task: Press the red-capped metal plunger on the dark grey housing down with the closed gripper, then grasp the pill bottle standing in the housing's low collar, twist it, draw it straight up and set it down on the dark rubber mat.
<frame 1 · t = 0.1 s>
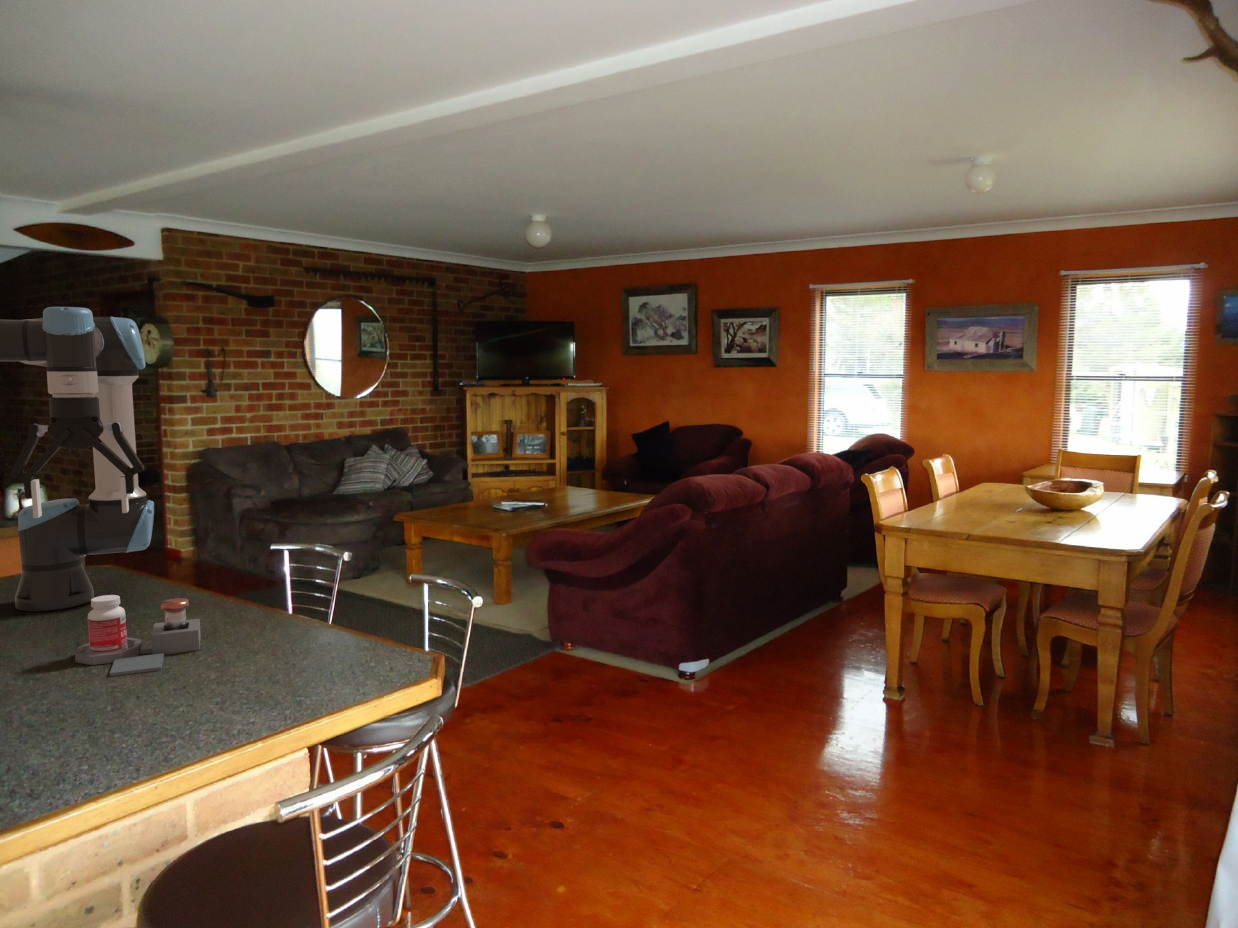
hand: (82, 514, 155), 28 cm above the counter, fingers open, 13 cm apart
pill bottle: (109, 655, 164), resting in housing
mat: (137, 665, 158), on the counter
housing: (142, 650, 166), on the counter
plunger: (175, 616, 168), point 6 cm above the counter, slide at 0.0 cm
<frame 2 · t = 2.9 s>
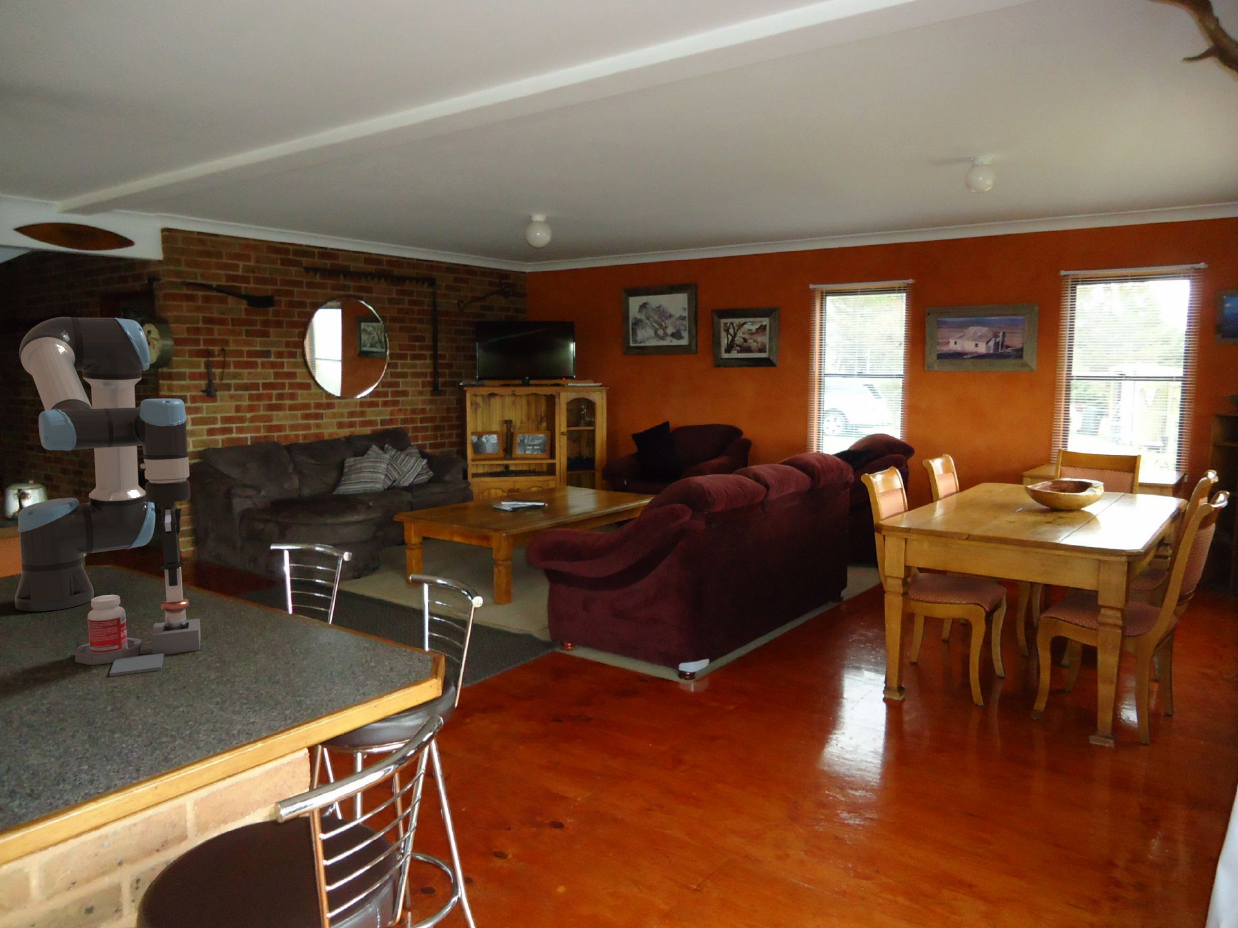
hand: (174, 600, 167), 9 cm above the counter, fingers closed
plunger: (175, 616, 168), point 6 cm above the counter, slide at 0.0 cm, touching gripper
everything else where it was.
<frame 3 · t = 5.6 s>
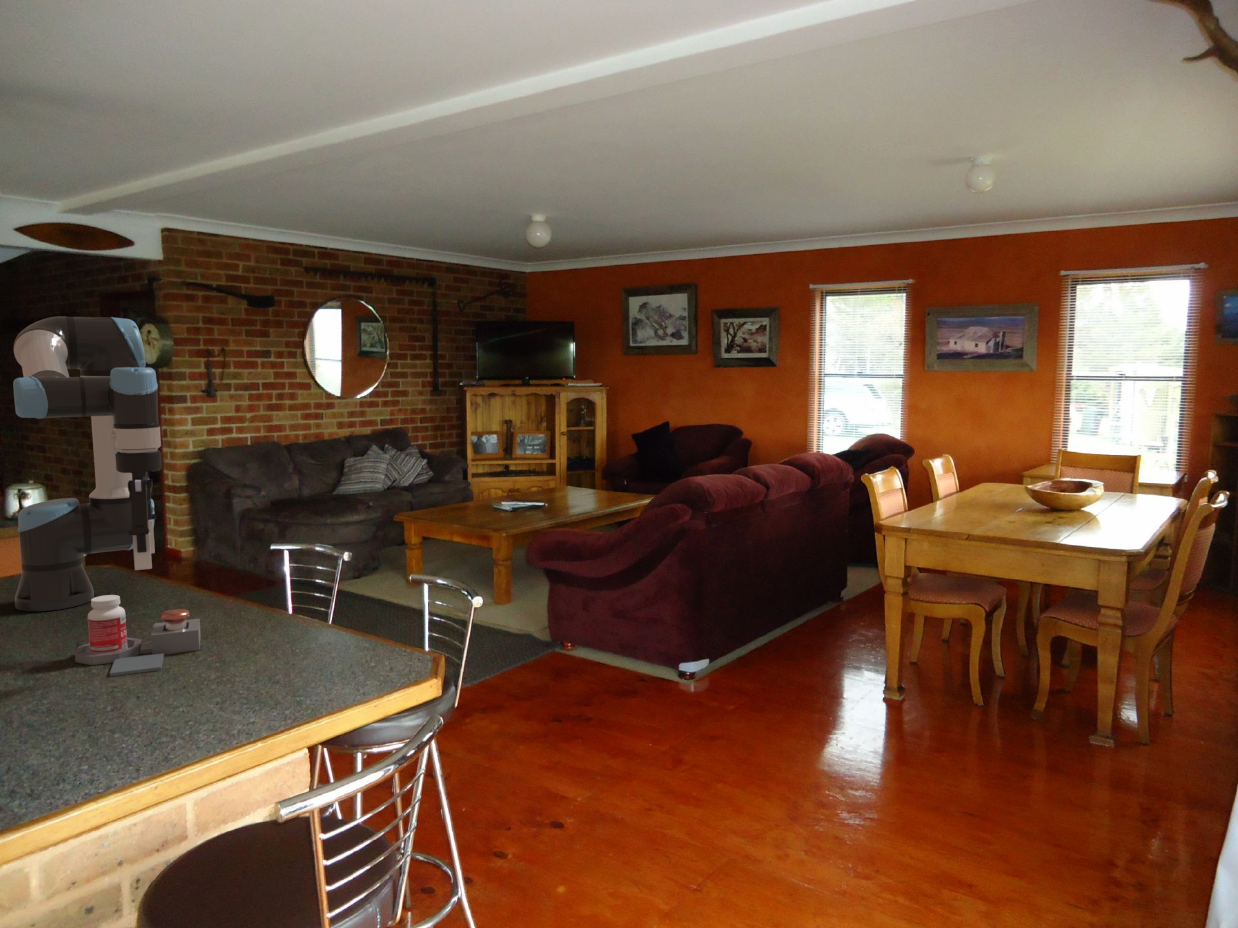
hand: (145, 561, 165), 17 cm above the counter, fingers open, 13 cm apart
plunger: (176, 627, 168), point 4 cm above the counter, slide at 2.2 cm
everything else where it was.
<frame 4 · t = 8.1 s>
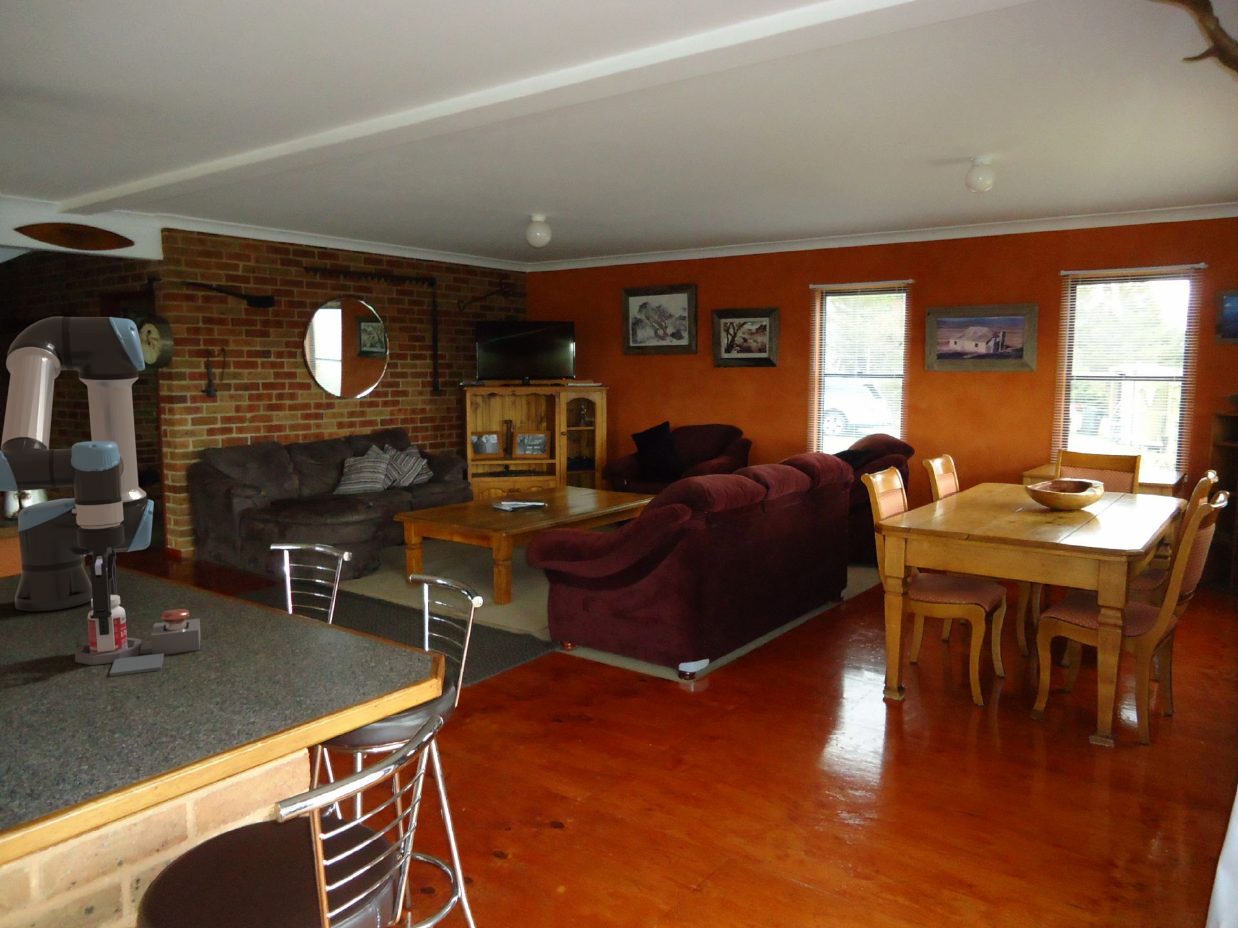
hand: (108, 644, 164), 2 cm above the counter, fingers closed on pill bottle, 6 cm apart
pill bottle: (109, 655, 164), resting in housing, touching gripper
everything else where it was.
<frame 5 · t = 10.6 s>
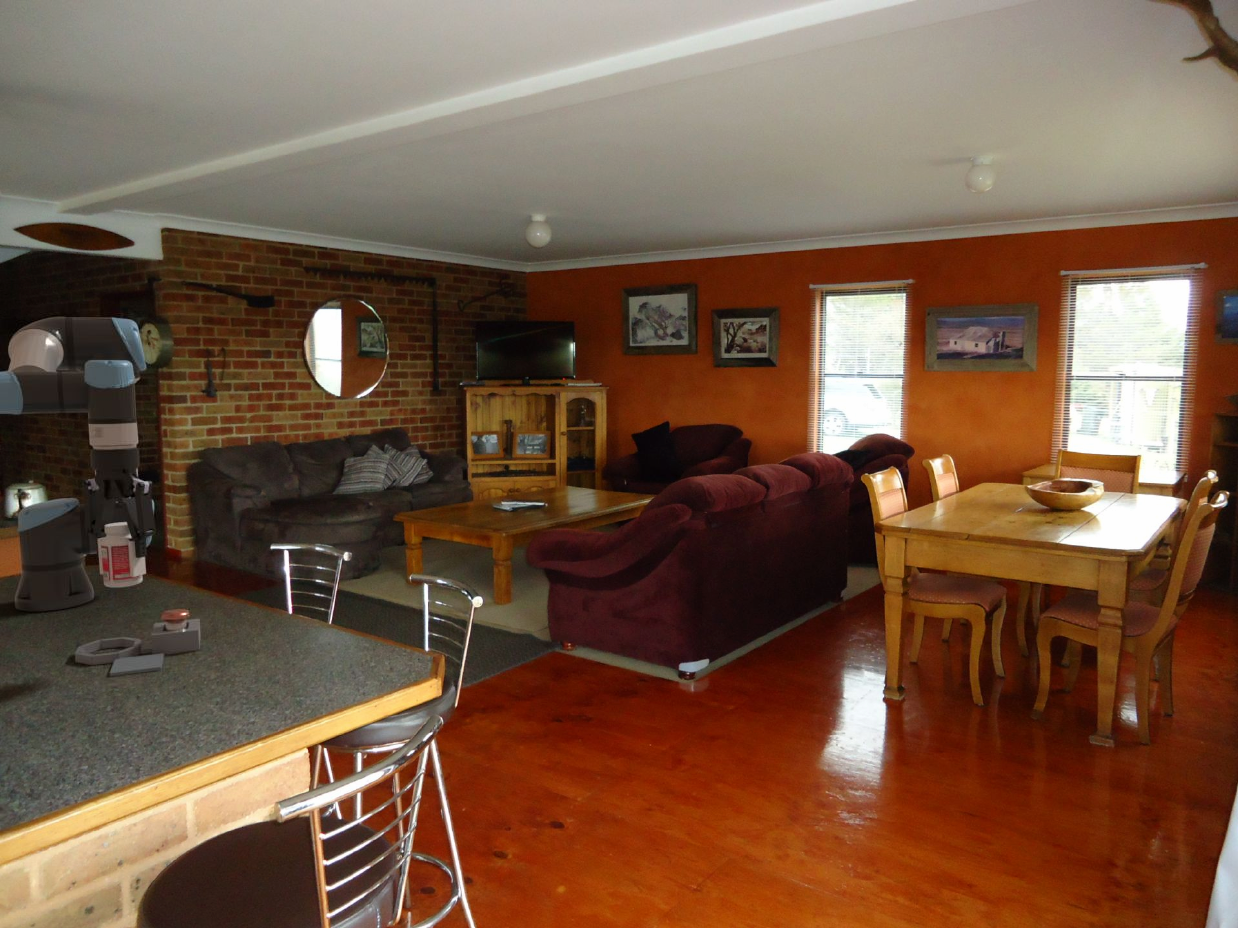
hand: (123, 573, 157), 17 cm above the counter, fingers closed on pill bottle, 6 cm apart
pill bottle: (123, 585, 157), point 15 cm above the counter, touching gripper
everything else where it was.
when the fingers open (4 cm above the counter, at t = 13.3 s): pill bottle drops 1 cm, resting on mat.
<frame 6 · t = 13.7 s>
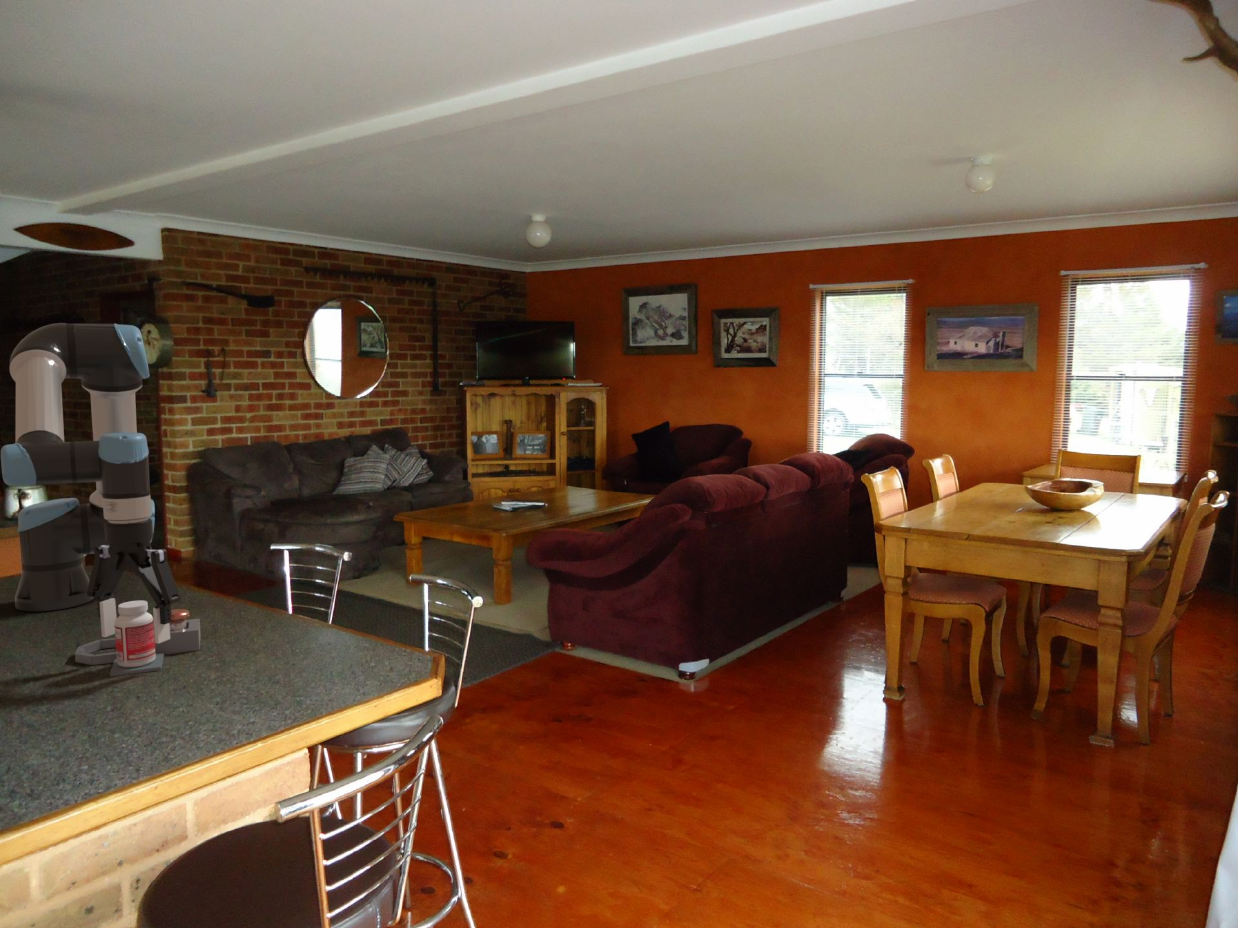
hand: (136, 637, 157), 5 cm above the counter, fingers open, 11 cm apart
pill bottle: (136, 663, 158), resting on mat
everything else where it was.
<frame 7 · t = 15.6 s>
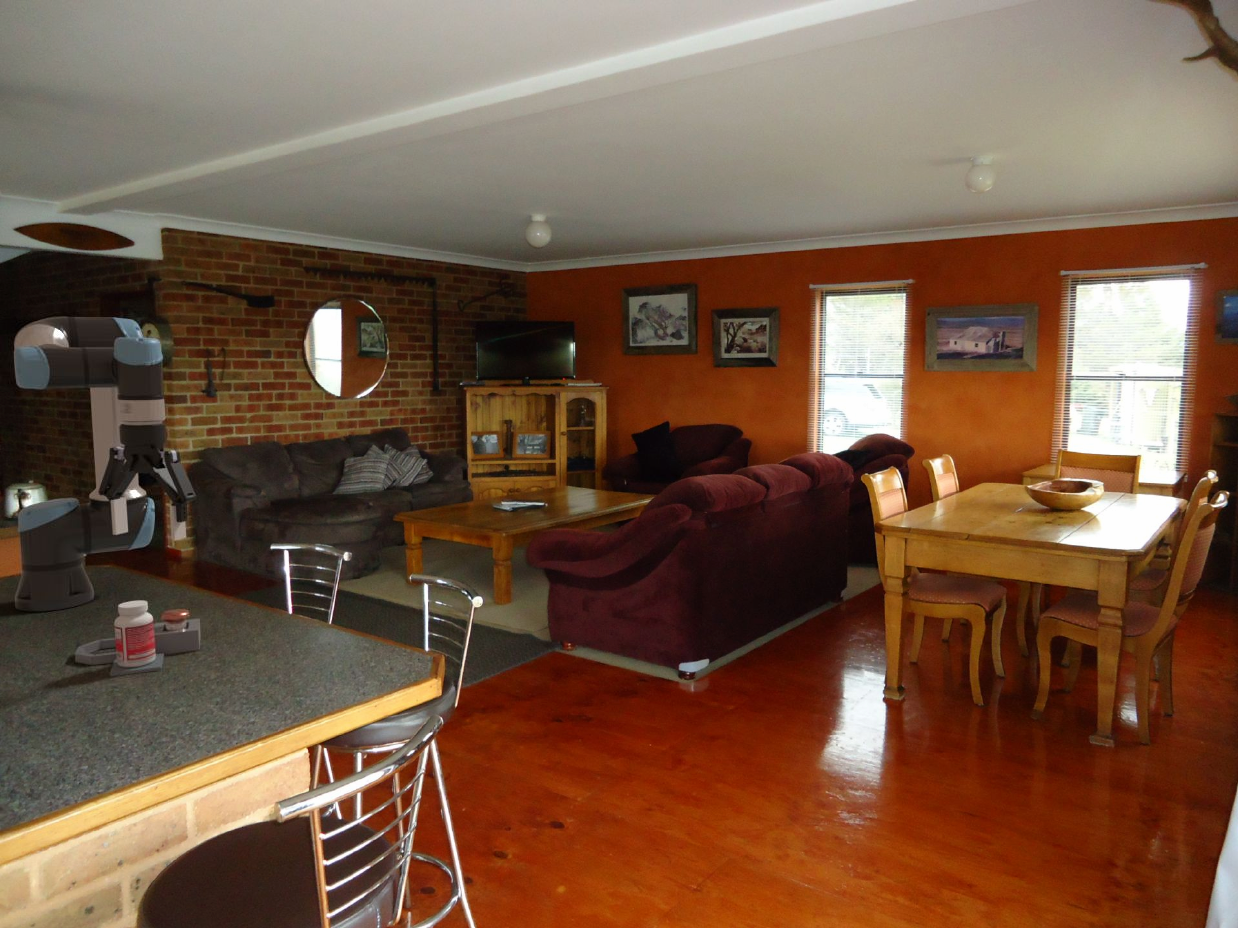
hand: (149, 536, 161), 23 cm above the counter, fingers open, 13 cm apart
nothing on the counter moved.
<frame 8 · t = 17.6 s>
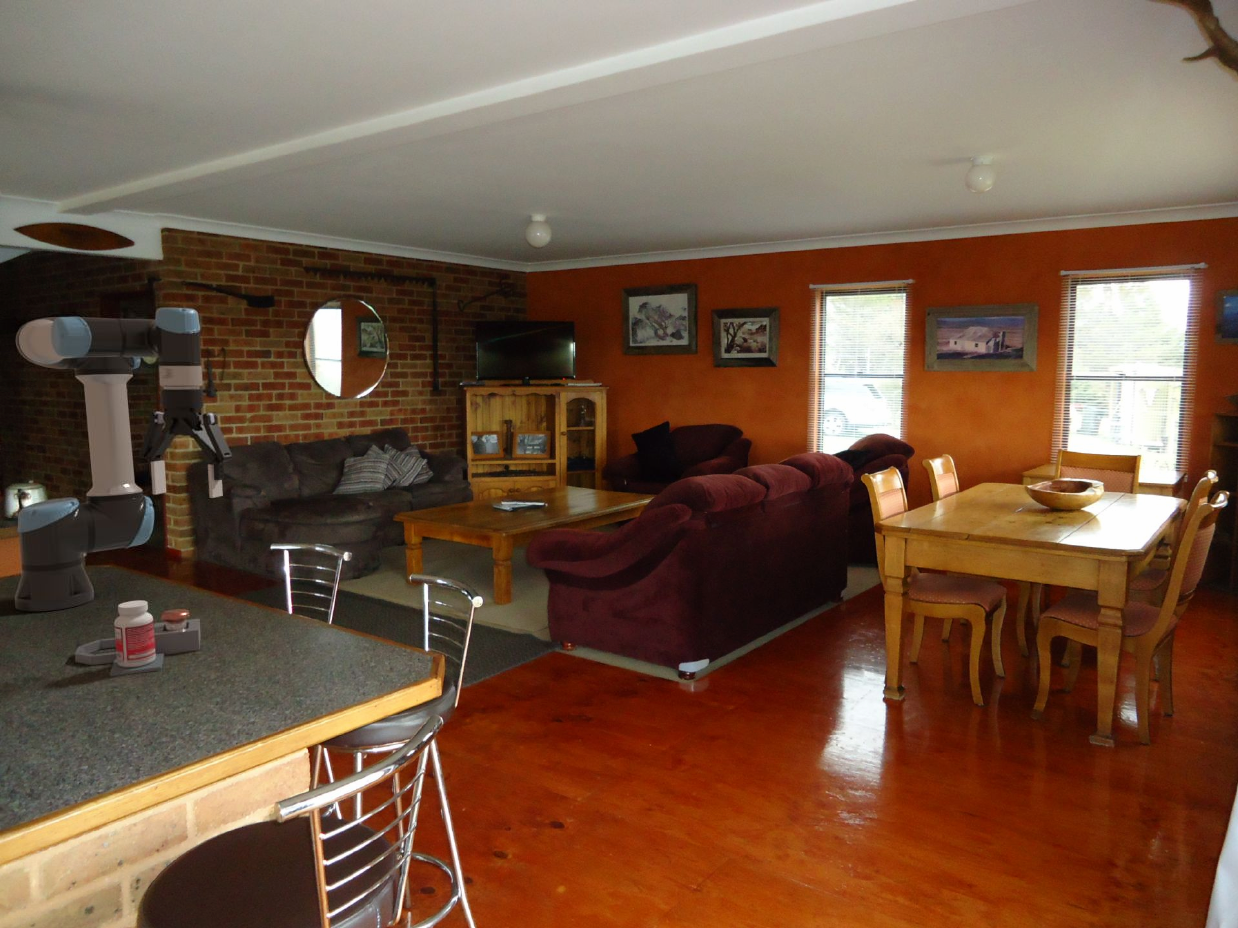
hand: (187, 495, 172), 29 cm above the counter, fingers open, 13 cm apart
nothing on the counter moved.
at the end: plunger slide at 2.2 cm; pill bottle inside the target area on the mat (0.3 cm from its centre), point 0.4 cm above the mat's base; pill bottle tilted 0° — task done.
